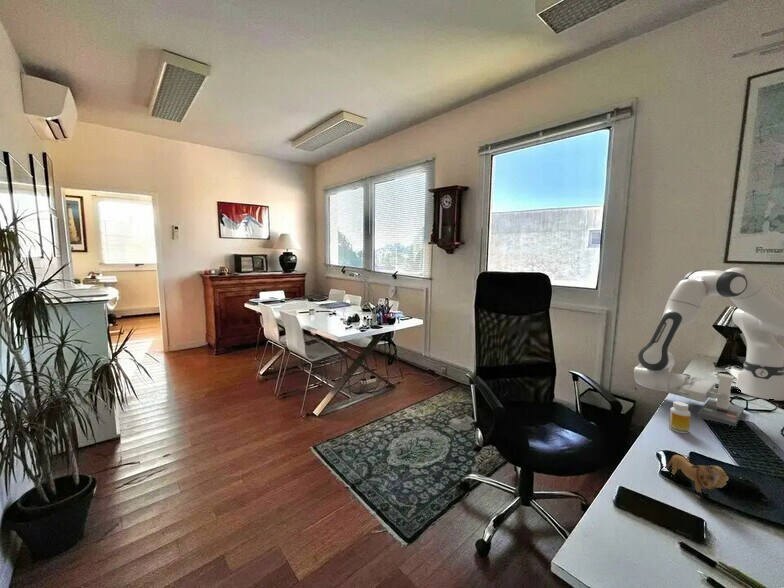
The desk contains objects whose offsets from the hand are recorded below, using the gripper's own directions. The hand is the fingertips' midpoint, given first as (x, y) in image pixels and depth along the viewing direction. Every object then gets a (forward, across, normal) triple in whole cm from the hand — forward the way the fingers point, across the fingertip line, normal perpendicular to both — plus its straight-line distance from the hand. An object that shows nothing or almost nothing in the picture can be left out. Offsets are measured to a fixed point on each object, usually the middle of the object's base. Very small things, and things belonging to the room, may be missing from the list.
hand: (727, 395), depth 126 cm
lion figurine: (+2, -64, +8) cm, 64 cm away
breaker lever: (-1, 0, +5) cm, 6 cm away
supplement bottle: (-8, -28, +8) cm, 30 cm away
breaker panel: (-1, 0, +8) cm, 8 cm away
